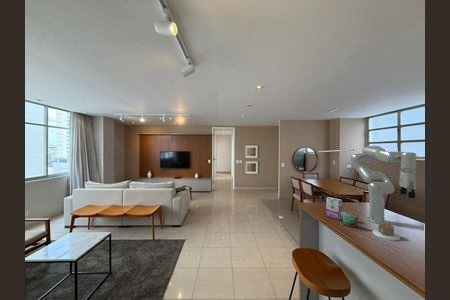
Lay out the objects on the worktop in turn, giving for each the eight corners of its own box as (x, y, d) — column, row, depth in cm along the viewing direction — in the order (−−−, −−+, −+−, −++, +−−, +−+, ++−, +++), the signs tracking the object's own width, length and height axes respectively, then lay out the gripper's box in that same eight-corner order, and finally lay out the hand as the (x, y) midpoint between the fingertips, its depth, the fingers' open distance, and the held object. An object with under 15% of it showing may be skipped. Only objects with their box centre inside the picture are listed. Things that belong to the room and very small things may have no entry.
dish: (369, 229, 136) (369, 228, 136) (392, 232, 132) (392, 230, 132) (378, 238, 123) (378, 236, 123) (405, 242, 119) (405, 240, 119)
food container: (337, 223, 148) (337, 210, 148) (342, 222, 150) (343, 209, 150) (353, 229, 136) (353, 215, 136) (359, 228, 139) (359, 214, 139)
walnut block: (378, 231, 131) (378, 222, 131) (388, 232, 129) (388, 223, 129) (382, 235, 125) (382, 226, 125) (393, 236, 124) (393, 227, 123)
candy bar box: (342, 219, 156) (342, 199, 156) (338, 220, 153) (339, 200, 153) (329, 215, 165) (329, 196, 165) (325, 216, 163) (325, 197, 163)
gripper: (394, 169, 137) (394, 192, 137) (408, 172, 120) (407, 198, 121) (407, 169, 134) (407, 193, 134) (423, 172, 118) (422, 200, 118)
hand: (407, 196), depth 128 cm, fingers open, 9 cm apart
